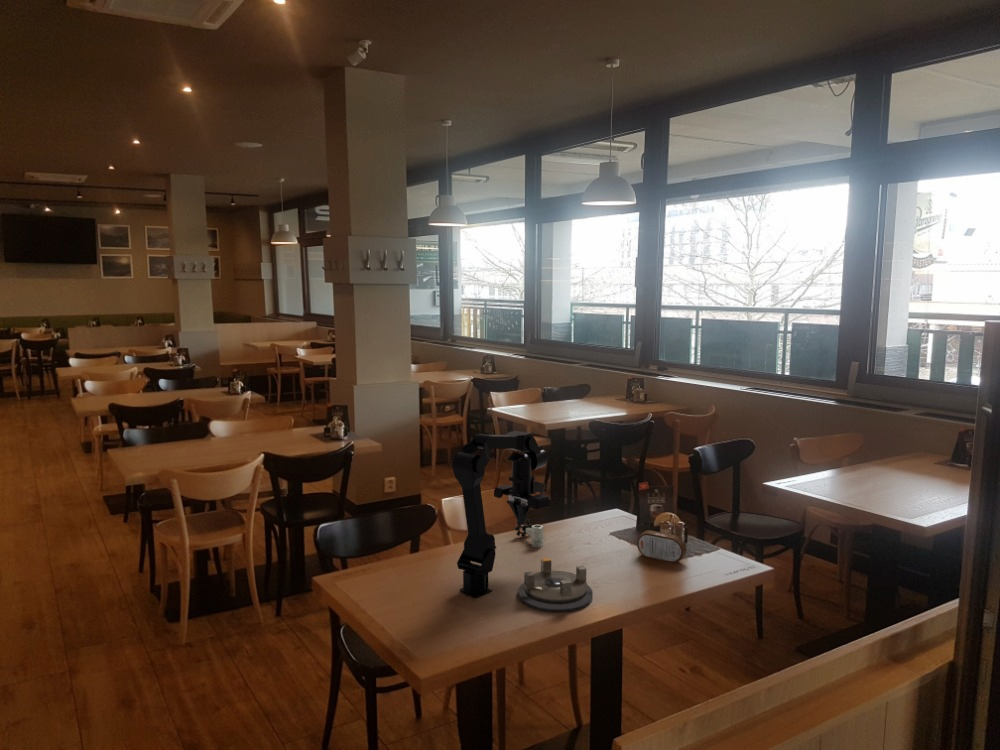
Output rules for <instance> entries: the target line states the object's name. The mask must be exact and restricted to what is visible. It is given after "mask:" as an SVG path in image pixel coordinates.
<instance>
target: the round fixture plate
mask: <svg viewBox="0 0 1000 750" xmlns="http://www.w3.org/2000/svg"><path fill="white" fill-rule="evenodd" d="M575 568H576V569H575V573H574V572H573V573H572V572H570V571H565V570H564V571H562V570H552V560H551V558H550V557H546V558H545V557H544V558H541V559H540V571H538V572H534V573H533V572H532V571H525V572H524V574H523V575H524V577H523V578H524V580H523V583H524V591H525V593H526V595H527V596H529V597H530V598H532V599H534V600H537V601H540V602H544V603H552V604H564V603H571V602H575V601H578V600H580V599H582V598H583V597H585V595H586V594H587V585H588V583H587V568H586V567H585V566H584V565H576V567H575Z"/></svg>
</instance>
